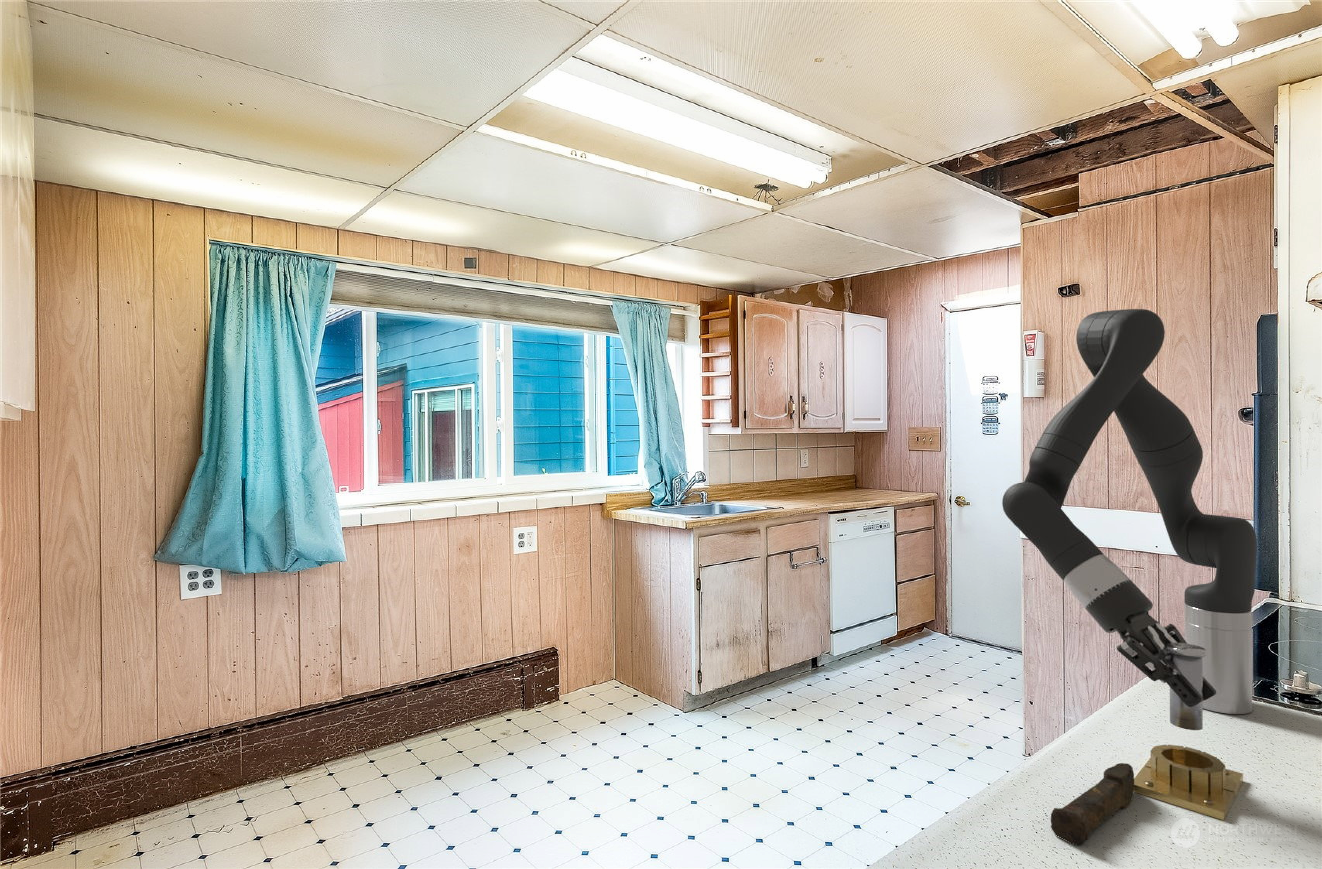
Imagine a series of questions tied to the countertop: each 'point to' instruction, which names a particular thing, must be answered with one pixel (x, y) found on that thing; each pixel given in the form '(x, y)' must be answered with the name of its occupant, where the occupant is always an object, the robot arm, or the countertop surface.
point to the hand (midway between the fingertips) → (1203, 699)
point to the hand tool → (1094, 805)
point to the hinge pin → (1192, 669)
